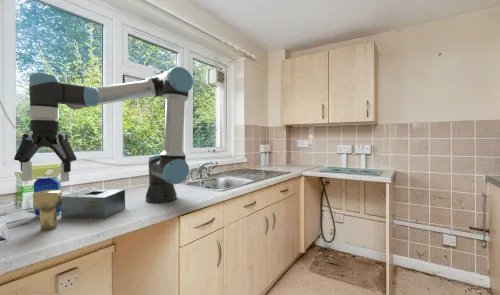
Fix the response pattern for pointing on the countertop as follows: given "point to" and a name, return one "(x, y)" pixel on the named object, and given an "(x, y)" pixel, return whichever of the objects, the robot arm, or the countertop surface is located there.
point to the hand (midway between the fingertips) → (46, 181)
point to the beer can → (47, 188)
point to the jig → (93, 203)
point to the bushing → (47, 207)
